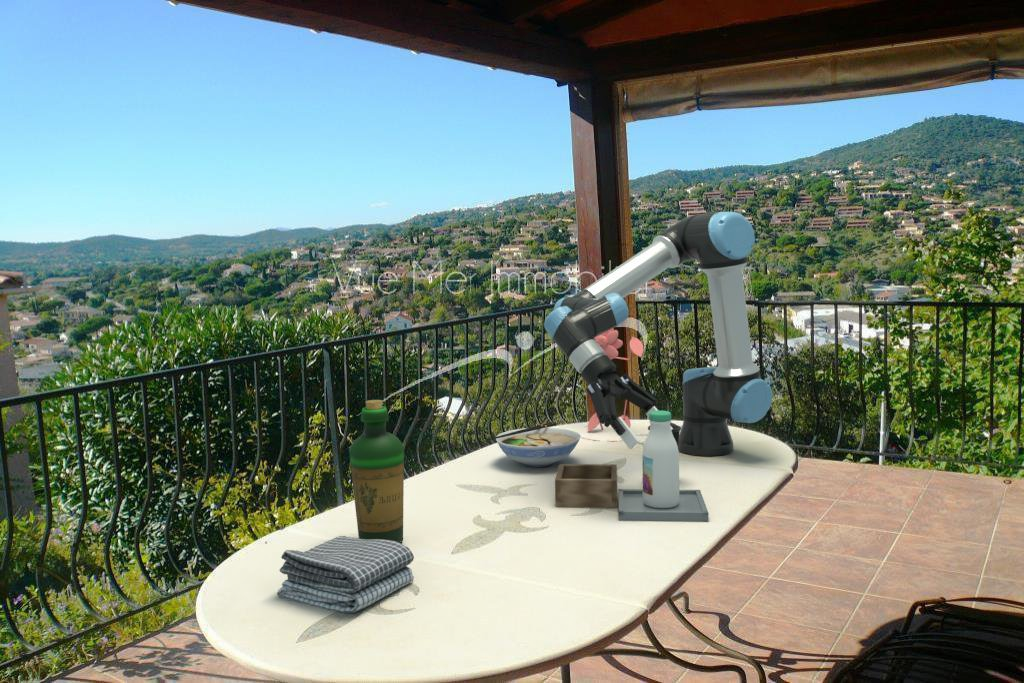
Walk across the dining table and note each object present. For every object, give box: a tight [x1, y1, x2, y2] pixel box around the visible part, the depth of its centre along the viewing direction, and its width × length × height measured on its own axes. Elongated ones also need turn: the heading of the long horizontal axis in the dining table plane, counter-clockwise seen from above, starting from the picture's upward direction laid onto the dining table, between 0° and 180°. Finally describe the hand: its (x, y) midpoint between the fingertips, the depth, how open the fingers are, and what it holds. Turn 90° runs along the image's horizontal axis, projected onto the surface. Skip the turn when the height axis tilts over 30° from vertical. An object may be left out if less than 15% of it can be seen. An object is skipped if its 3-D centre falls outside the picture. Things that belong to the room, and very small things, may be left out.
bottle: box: [348, 399, 405, 544], centre depth 151 cm, size 11×11×28 cm
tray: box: [618, 488, 709, 522], centre depth 168 cm, size 18×16×2 cm
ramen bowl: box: [485, 421, 581, 468], centre depth 208 cm, size 25×23×8 cm
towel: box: [276, 535, 415, 614], centre depth 131 cm, size 15×18×8 cm
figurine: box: [580, 327, 645, 443], centre depth 236 cm, size 15×26×35 cm, turn 53°
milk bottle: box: [641, 410, 680, 508], centre depth 167 cm, size 8×8×20 cm
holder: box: [554, 463, 618, 509], centre depth 176 cm, size 13×13×6 cm
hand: (652, 439), depth 167 cm, fingers open, 13 cm apart
